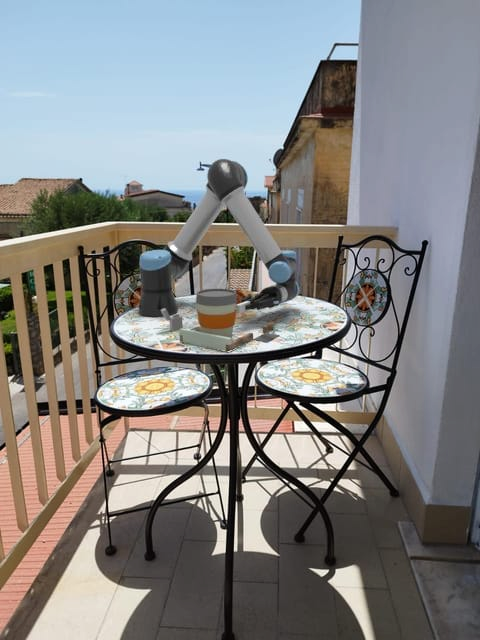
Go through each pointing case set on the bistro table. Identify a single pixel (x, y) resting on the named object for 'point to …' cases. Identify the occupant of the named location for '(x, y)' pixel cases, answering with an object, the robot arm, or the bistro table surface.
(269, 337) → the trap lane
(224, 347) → the pale grey board
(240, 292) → the croissant
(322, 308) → the bistro table surface
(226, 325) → the reusable coffee cup
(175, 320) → the lighter
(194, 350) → the bistro table surface
